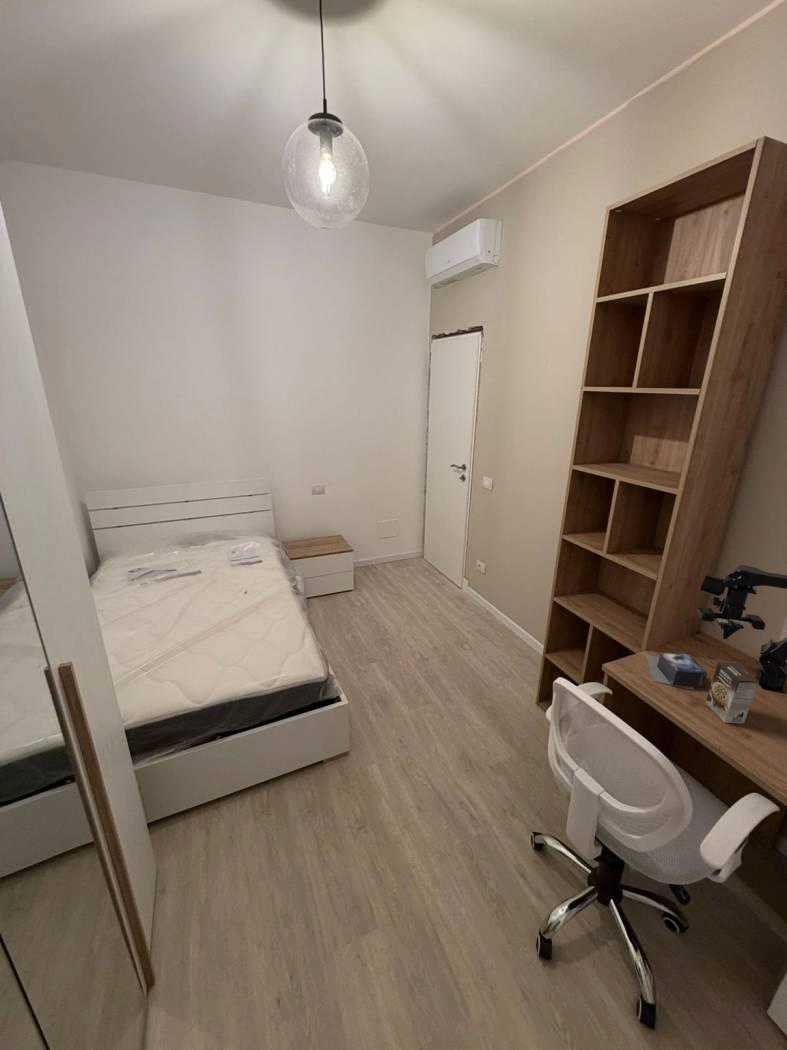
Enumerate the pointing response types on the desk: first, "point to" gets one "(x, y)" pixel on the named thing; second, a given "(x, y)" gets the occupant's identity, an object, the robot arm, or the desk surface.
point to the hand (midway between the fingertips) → (724, 638)
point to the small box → (681, 669)
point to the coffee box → (731, 692)
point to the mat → (657, 674)
